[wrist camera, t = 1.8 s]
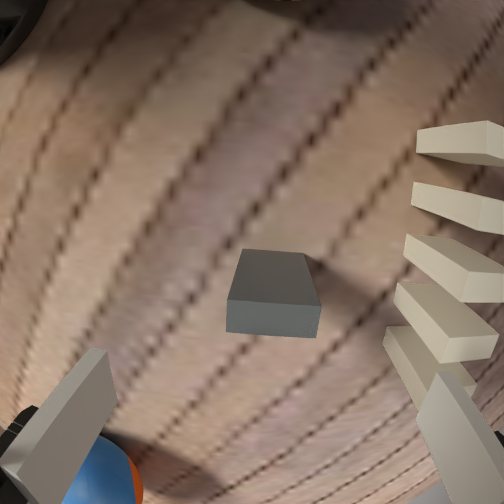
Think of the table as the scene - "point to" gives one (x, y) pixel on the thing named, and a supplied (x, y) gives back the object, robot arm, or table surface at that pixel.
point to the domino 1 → (273, 296)
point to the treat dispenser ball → (106, 477)
